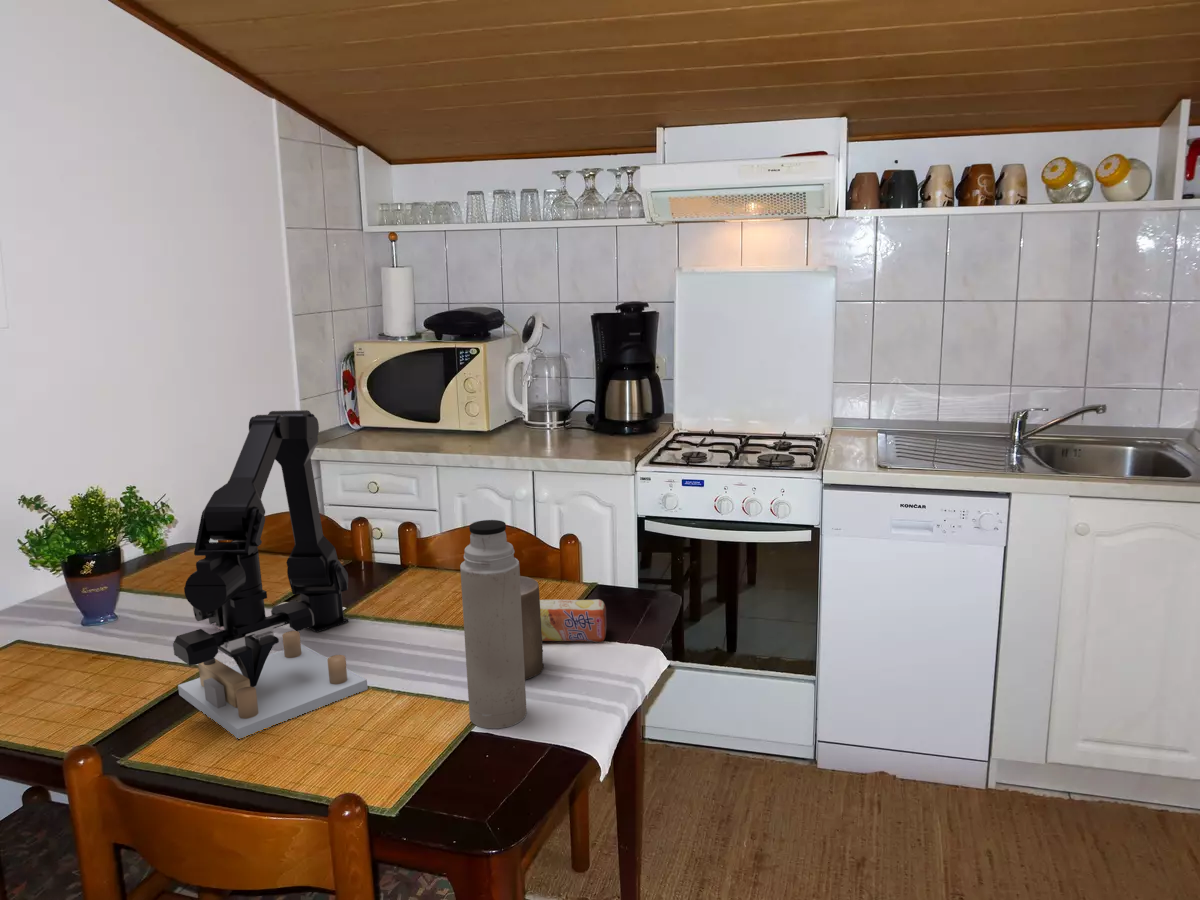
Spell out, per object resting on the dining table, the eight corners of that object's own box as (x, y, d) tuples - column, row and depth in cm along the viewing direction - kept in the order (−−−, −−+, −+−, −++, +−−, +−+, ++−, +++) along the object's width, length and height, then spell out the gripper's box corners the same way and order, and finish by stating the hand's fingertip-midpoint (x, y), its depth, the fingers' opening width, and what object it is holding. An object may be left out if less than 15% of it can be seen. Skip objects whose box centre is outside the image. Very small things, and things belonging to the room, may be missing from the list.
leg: (200, 684, 140) (197, 660, 139) (216, 679, 142) (213, 654, 141) (235, 707, 133) (232, 681, 132) (251, 701, 134) (249, 675, 134)
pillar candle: (552, 658, 150) (547, 569, 147) (531, 685, 141) (525, 590, 138) (495, 654, 152) (489, 566, 149) (471, 680, 143) (464, 586, 140)
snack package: (607, 630, 161) (606, 592, 160) (605, 646, 155) (604, 607, 153) (484, 631, 162) (482, 594, 161) (477, 646, 156) (475, 608, 154)
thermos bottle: (484, 698, 137) (474, 513, 131) (535, 705, 134) (526, 517, 129) (459, 724, 130) (446, 529, 124) (512, 732, 127) (502, 533, 121)
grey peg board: (302, 652, 155) (299, 623, 154) (367, 689, 141) (364, 657, 140) (179, 695, 141) (175, 663, 140) (238, 740, 127) (234, 705, 126)
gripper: (275, 556, 146) (285, 650, 149) (151, 589, 133) (165, 691, 136) (311, 572, 138) (320, 670, 142) (183, 609, 125) (197, 716, 129)
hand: (252, 685), depth 137 cm, fingers closed
